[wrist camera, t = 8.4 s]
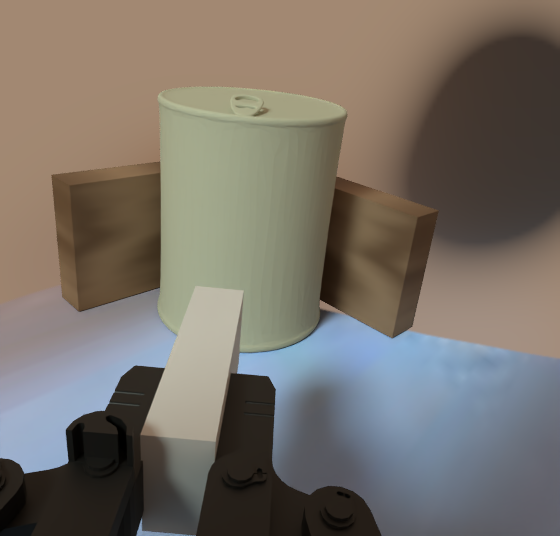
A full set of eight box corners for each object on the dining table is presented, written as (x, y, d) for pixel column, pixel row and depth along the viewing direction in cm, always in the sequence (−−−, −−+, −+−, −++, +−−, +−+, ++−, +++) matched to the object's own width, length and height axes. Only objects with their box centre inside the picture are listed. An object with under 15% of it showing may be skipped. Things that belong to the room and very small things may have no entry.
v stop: (417, 340, 29) (446, 220, 26) (52, 309, 29) (39, 182, 26) (383, 257, 40) (401, 163, 37) (113, 232, 39) (110, 136, 36)
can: (136, 343, 27) (130, 92, 22) (177, 266, 35) (180, 72, 30) (321, 362, 27) (358, 116, 22) (318, 280, 35) (344, 88, 30)
